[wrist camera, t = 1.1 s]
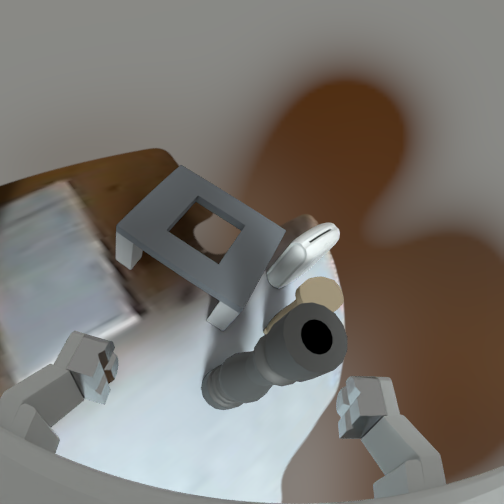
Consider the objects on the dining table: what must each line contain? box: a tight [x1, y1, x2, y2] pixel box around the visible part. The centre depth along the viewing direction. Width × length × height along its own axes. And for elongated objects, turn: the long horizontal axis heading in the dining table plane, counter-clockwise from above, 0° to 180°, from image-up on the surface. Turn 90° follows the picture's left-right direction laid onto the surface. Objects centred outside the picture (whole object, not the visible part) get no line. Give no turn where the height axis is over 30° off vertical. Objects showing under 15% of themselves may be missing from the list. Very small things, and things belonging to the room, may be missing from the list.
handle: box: [264, 277, 343, 335], centre depth 44 cm, size 5×6×15 cm
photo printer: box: [267, 223, 340, 289], centre depth 53 cm, size 10×4×12 cm, turn 130°
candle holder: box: [201, 302, 347, 410], centre depth 32 cm, size 6×6×25 cm
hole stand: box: [116, 165, 286, 331], centre depth 48 cm, size 20×16×9 cm
